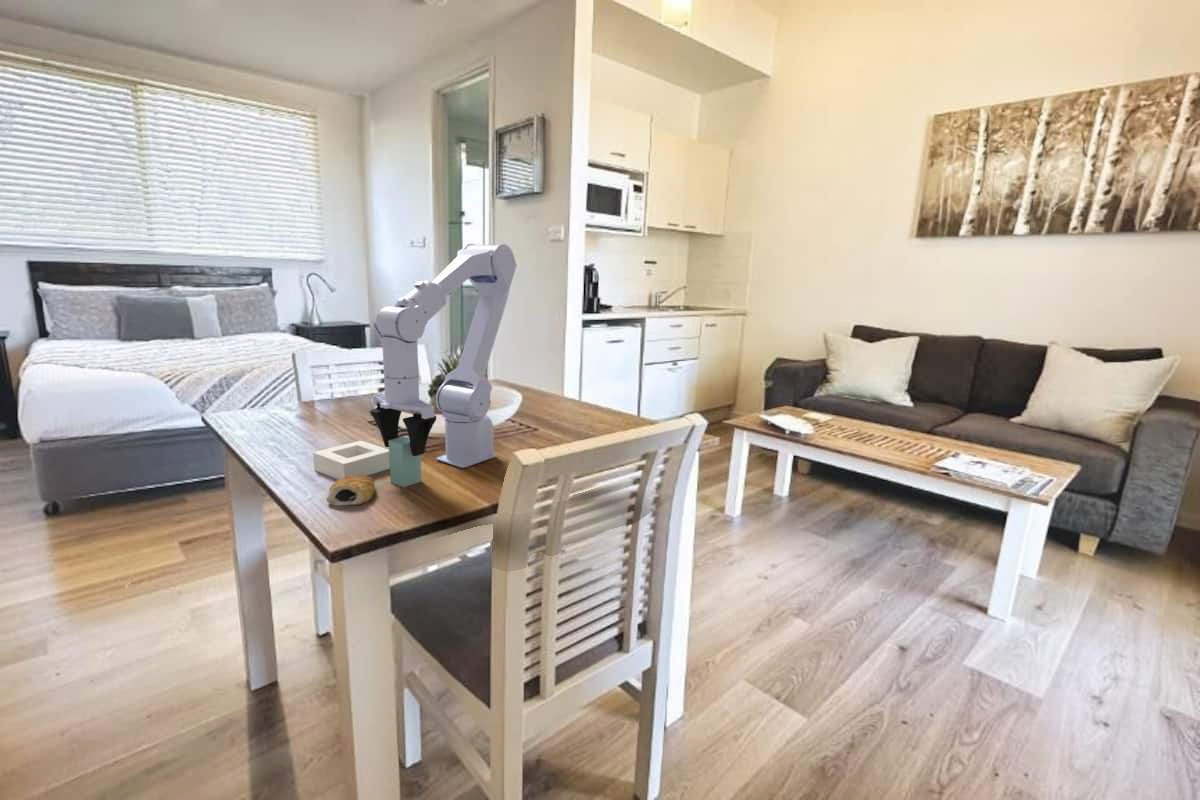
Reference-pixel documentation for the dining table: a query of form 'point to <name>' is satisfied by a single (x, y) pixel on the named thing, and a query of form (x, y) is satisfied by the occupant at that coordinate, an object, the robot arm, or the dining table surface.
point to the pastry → (351, 490)
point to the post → (403, 463)
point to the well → (351, 460)
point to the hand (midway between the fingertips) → (404, 450)
